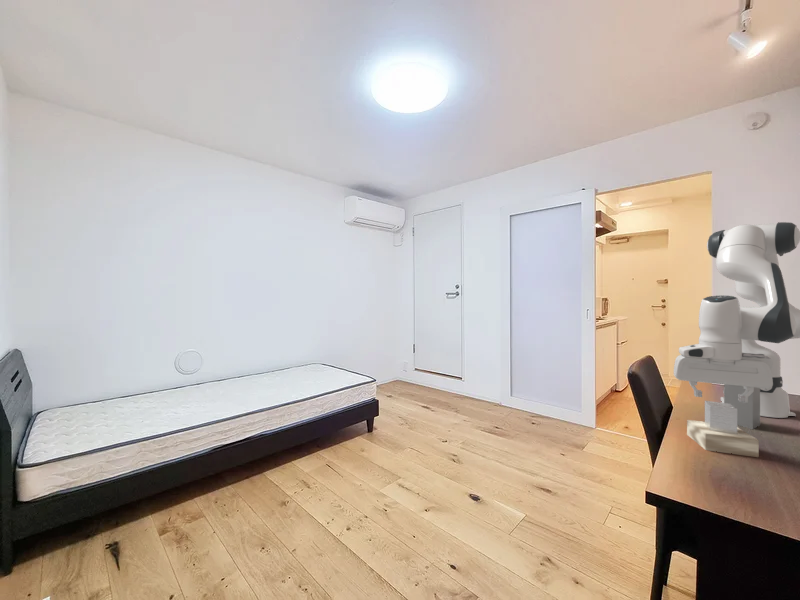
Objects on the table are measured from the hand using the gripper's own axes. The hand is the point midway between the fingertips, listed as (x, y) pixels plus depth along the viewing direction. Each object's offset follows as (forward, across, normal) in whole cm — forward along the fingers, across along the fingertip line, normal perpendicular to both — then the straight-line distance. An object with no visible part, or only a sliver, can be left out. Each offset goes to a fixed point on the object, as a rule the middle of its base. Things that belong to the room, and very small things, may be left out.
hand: (719, 399), depth 92 cm
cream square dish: (+14, 0, 0) cm, 14 cm away
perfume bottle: (+14, -12, -26) cm, 31 cm away
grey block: (+9, 0, 0) cm, 9 cm away
